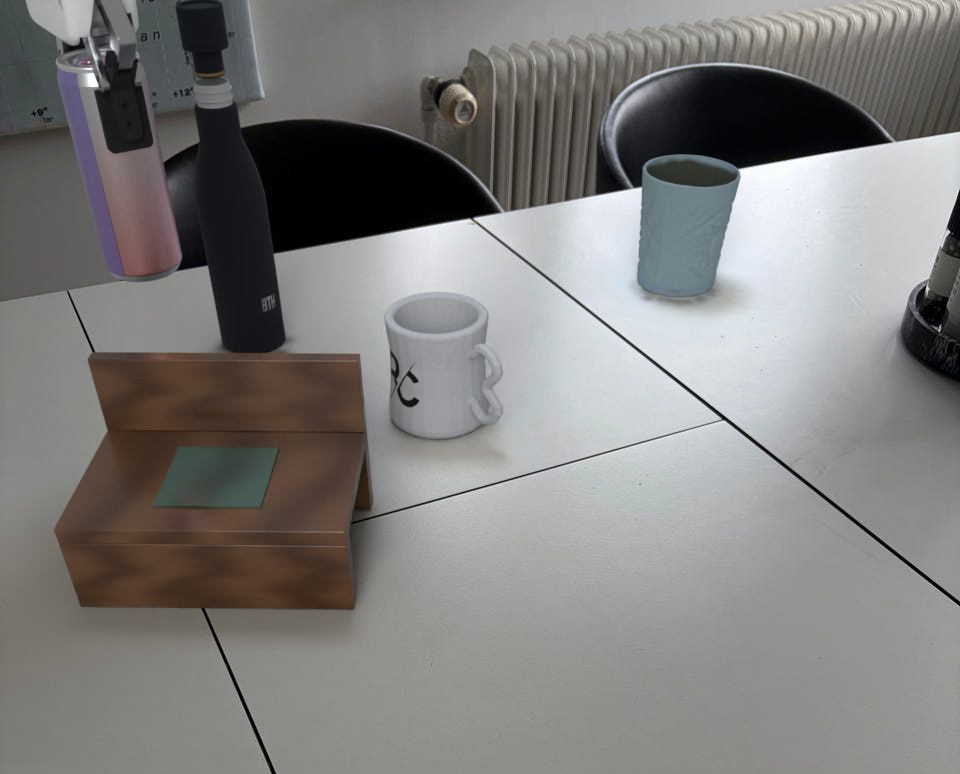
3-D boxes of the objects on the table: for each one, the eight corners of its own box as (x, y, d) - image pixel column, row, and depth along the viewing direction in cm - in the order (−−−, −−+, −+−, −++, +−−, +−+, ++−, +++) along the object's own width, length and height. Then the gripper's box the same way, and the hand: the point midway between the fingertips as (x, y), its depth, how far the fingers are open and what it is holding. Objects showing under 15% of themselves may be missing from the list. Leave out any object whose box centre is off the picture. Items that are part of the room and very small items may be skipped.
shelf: (80, 607, 76) (26, 454, 67) (132, 496, 86) (91, 351, 77) (353, 610, 75) (336, 456, 66) (373, 498, 86) (360, 353, 77)
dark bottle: (229, 325, 109) (170, -5, 89) (290, 326, 109) (244, -5, 88) (216, 354, 104) (149, 12, 84) (279, 355, 104) (228, 12, 84)
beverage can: (91, 279, 81) (34, 64, 70) (131, 250, 85) (82, 43, 75) (160, 288, 79) (112, 70, 69) (197, 258, 84) (157, 48, 73)
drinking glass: (621, 266, 120) (631, 156, 112) (705, 259, 121) (720, 150, 113) (647, 303, 112) (660, 189, 104) (736, 296, 114) (755, 182, 105)
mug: (369, 417, 95) (360, 313, 88) (441, 382, 100) (438, 281, 93) (464, 469, 89) (462, 362, 82) (536, 429, 93) (540, 325, 87)
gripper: (-56, -185, 67) (27, 116, 79) (21, -163, 56) (104, 181, 69) (59, -192, 70) (123, 99, 82) (154, -171, 59) (210, 159, 72)
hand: (114, 134), depth 75 cm, fingers closed on beverage can, 6 cm apart
